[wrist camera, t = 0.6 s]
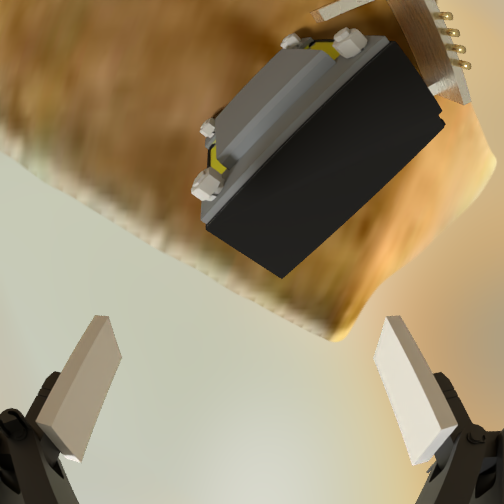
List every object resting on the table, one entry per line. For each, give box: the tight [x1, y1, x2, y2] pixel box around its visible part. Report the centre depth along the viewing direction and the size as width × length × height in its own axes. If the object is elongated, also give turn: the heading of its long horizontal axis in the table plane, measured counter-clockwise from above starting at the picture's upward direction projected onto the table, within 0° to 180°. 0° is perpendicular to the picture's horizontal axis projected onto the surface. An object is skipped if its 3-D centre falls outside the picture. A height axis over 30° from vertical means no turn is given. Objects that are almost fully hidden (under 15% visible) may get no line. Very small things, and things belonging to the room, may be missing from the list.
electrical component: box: [191, 27, 446, 279], centre depth 27 cm, size 18×10×20 cm, turn 138°
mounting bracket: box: [310, 0, 471, 105], centre depth 27 cm, size 17×12×10 cm
